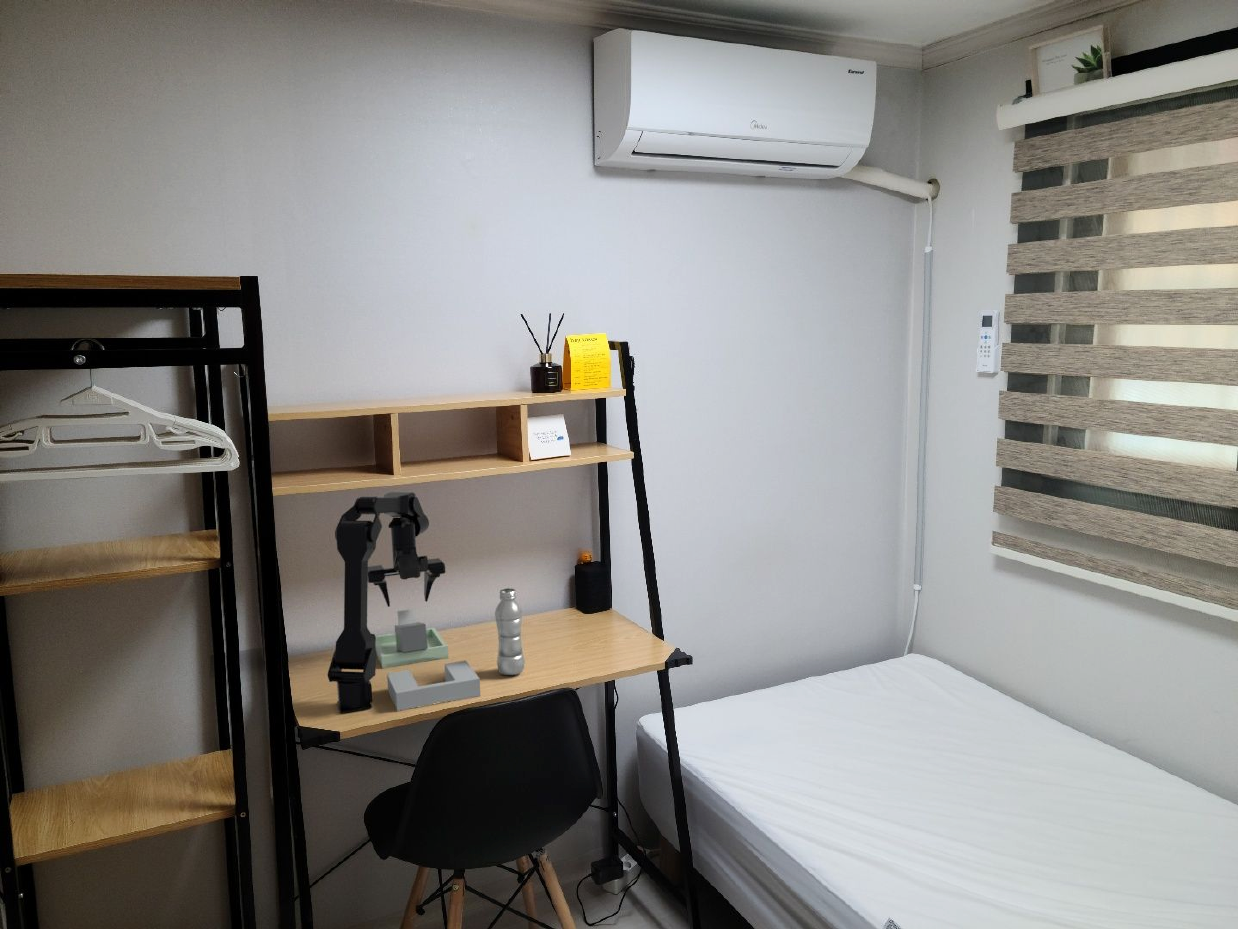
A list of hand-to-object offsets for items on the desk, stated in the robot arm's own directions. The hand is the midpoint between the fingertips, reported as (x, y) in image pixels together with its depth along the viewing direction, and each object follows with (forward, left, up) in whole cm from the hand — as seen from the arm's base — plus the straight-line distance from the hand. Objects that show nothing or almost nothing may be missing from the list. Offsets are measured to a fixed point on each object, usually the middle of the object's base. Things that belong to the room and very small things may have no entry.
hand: (407, 603), depth 223 cm
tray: (0, +1, -13) cm, 13 cm away
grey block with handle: (0, -3, -11) cm, 11 cm away
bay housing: (0, -27, -13) cm, 30 cm away
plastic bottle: (+19, -24, -13) cm, 33 cm away
